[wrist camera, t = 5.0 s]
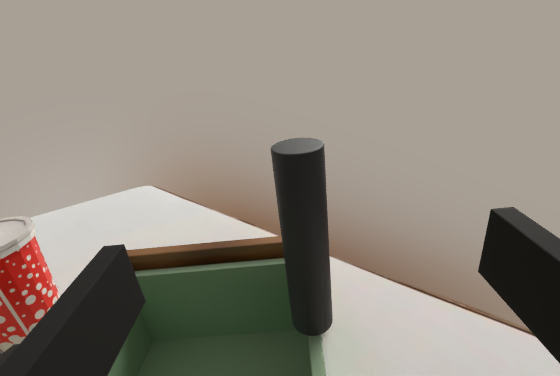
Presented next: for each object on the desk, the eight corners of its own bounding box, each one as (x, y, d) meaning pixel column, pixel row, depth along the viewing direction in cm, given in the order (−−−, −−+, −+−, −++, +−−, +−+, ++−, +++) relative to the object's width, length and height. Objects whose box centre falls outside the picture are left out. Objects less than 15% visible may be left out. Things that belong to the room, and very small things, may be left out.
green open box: (324, 326, 23) (310, 114, 16) (355, 520, 13) (354, 208, 7) (149, 340, 23) (68, 140, 17) (64, 536, 14) (-191, 259, 7)
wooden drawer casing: (327, 313, 24) (322, 231, 21) (372, 563, 12) (377, 463, 9) (142, 328, 24) (110, 251, 21) (21, 579, 13) (-86, 491, 10)
